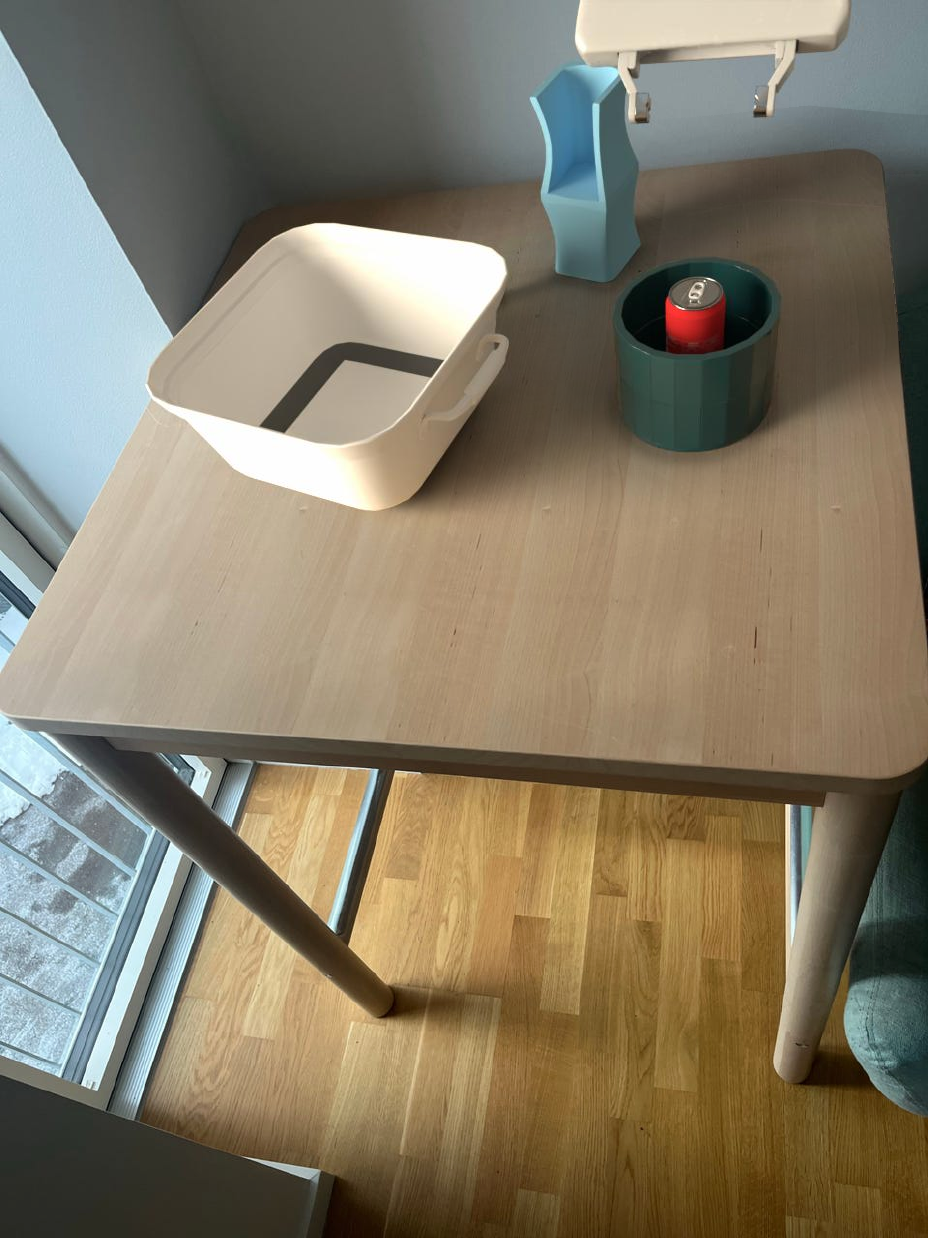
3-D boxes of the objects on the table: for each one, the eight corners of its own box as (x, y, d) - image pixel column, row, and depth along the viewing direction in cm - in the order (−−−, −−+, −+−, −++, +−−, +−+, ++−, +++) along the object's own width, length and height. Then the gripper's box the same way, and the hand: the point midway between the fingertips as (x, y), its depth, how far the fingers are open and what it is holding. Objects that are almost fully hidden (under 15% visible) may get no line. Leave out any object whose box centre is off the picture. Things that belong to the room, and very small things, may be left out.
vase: (550, 272, 107) (528, 97, 91) (581, 233, 110) (565, 58, 94) (611, 284, 103) (599, 104, 87) (641, 244, 107) (635, 63, 91)
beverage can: (660, 411, 89) (658, 308, 80) (674, 376, 92) (674, 272, 82) (713, 418, 88) (718, 313, 78) (726, 382, 90) (732, 276, 80)
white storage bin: (571, 378, 95) (557, 253, 84) (442, 582, 83) (404, 468, 71) (312, 326, 109) (269, 213, 98) (168, 494, 97) (98, 387, 85)
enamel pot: (773, 350, 92) (783, 253, 83) (767, 454, 84) (778, 359, 76) (628, 351, 96) (623, 259, 87) (610, 450, 88) (603, 360, 80)
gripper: (573, -91, 68) (559, 111, 71) (869, -127, 62) (841, 95, 64) (589, -48, 74) (576, 137, 76) (860, -77, 68) (835, 125, 70)
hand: (699, 118), depth 70 cm, fingers open, 8 cm apart
